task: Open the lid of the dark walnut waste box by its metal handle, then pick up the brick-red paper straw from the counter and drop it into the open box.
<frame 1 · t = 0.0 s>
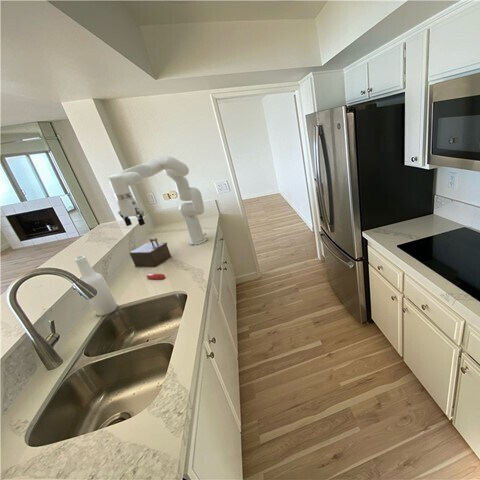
hand: (135, 225, 157), 31 cm above the worktop, tool pointing down, fingers open, 9 cm apart
alcohol: (107, 310, 132), on the worktop
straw: (156, 278, 159), on the worktop
bin lid: (147, 245, 178), point 12 cm above the worktop, hinge at 0.0°
bin: (153, 261, 182), on the worktop
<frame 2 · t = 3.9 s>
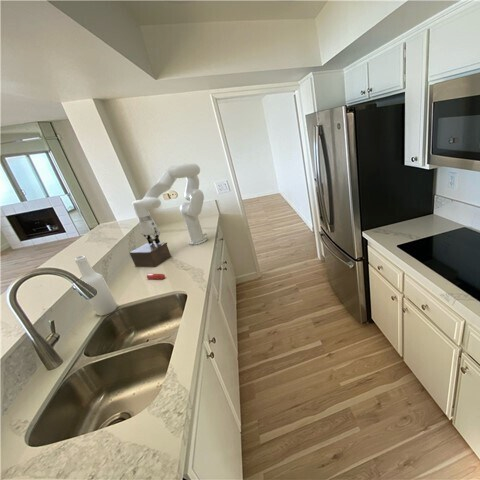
hand: (154, 243, 183), 11 cm above the worktop, tool pointing down, fingers closed on bin lid, 5 cm apart
bin lid: (147, 245, 178), point 12 cm above the worktop, hinge at 0.0°, touching gripper
everything else where it was.
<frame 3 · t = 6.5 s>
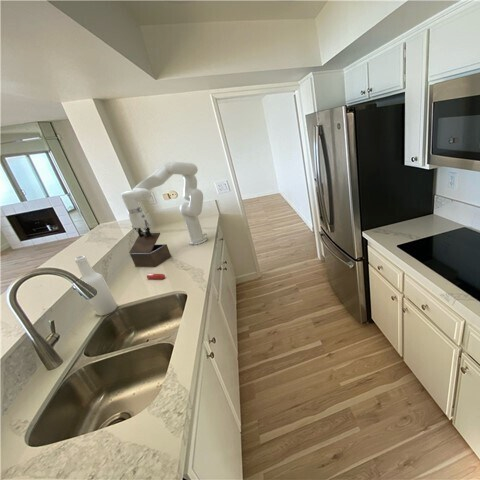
hand: (145, 236, 177), 18 cm above the worktop, tool pointing down, fingers closed on bin lid, 5 cm apart
bin lid: (142, 241, 174), point 16 cm above the worktop, hinge at 34.1°, touching gripper
everything else where it was.
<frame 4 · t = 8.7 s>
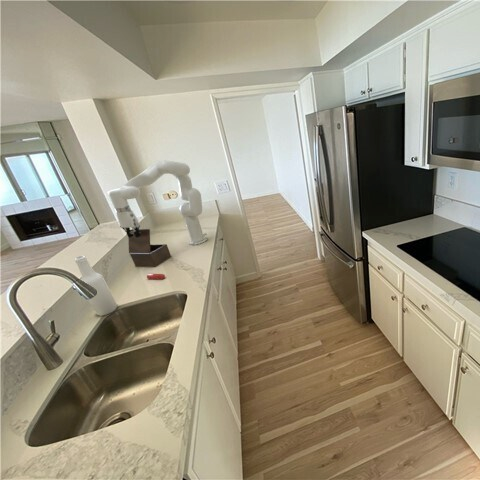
hand: (134, 236, 169), 21 cm above the worktop, tool pointing down, fingers closed on bin lid, 5 cm apart
bin lid: (136, 241, 170), point 18 cm above the worktop, hinge at 67.1°, touching gripper
everything else where it was.
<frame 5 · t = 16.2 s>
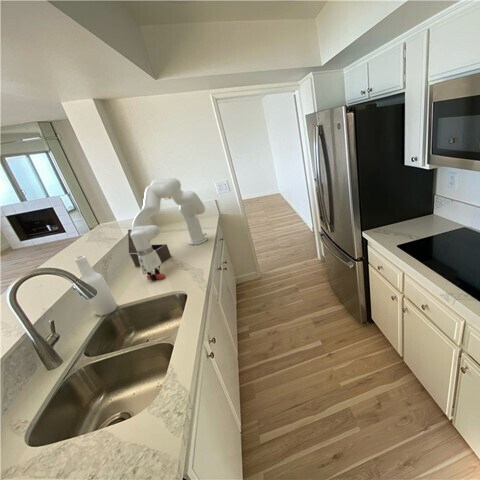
hand: (156, 278, 158), 0 cm above the worktop, tool pointing down, fingers closed on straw, 3 cm apart
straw: (156, 278, 159), on the worktop, touching gripper
bin lid: (136, 241, 170), point 18 cm above the worktop, hinge at 67.5°
everything else where it was.
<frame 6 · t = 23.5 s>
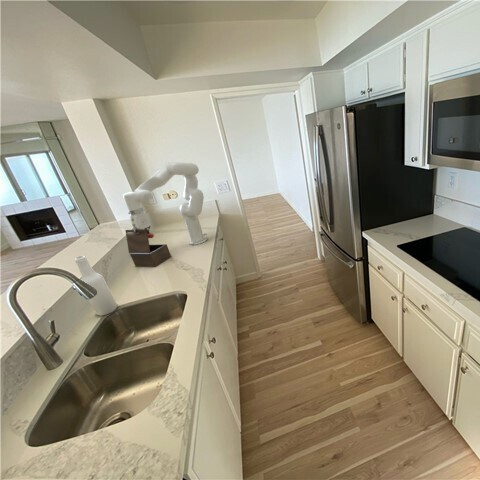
hand: (146, 237, 177), 17 cm above the worktop, tool pointing down, fingers closed on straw, 3 cm apart
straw: (146, 237, 177), point 17 cm above the worktop, touching gripper
bin lid: (134, 241, 169), point 18 cm above the worktop, hinge at 74.7°
everything else where it was.
when the fingers open (10 cm above the worktop, at t = 25.4 s): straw drops 9 cm, resting on bin.
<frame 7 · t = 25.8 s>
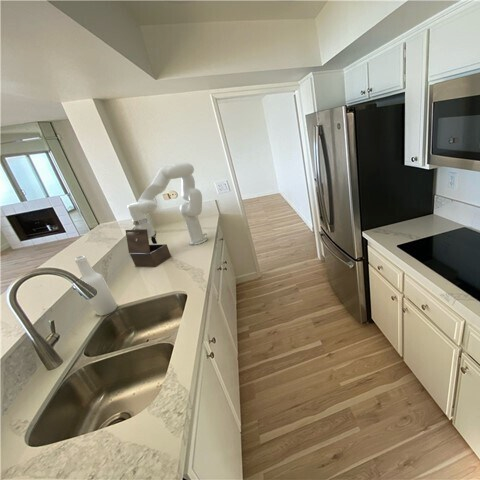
hand: (150, 246, 180), 11 cm above the worktop, tool pointing down, fingers open, 7 cm apart
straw: (155, 259, 184), point 1 cm above the worktop, touching bin
everything else where it was.
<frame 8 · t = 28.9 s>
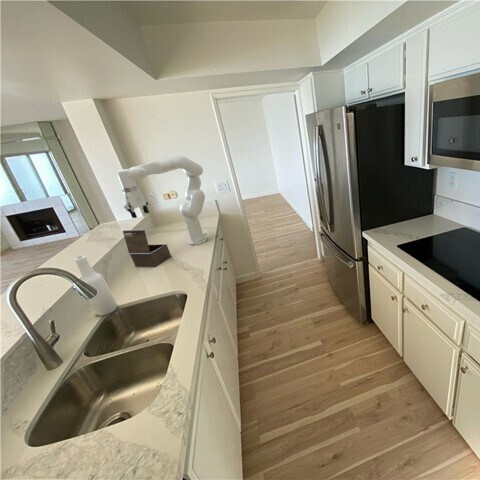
hand: (141, 215, 173), 32 cm above the worktop, tool pointing down, fingers open, 9 cm apart
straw: (155, 259, 184), point 1 cm above the worktop, tilted 8°, touching bin
bin lid: (133, 242, 168), point 18 cm above the worktop, hinge at 81.8°
everything else where it was.
at the end: bin lid at +82° (first picture: +0°); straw inside the target area in the bin (2.0 cm from its centre), point 0.8 cm above the bin's base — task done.
